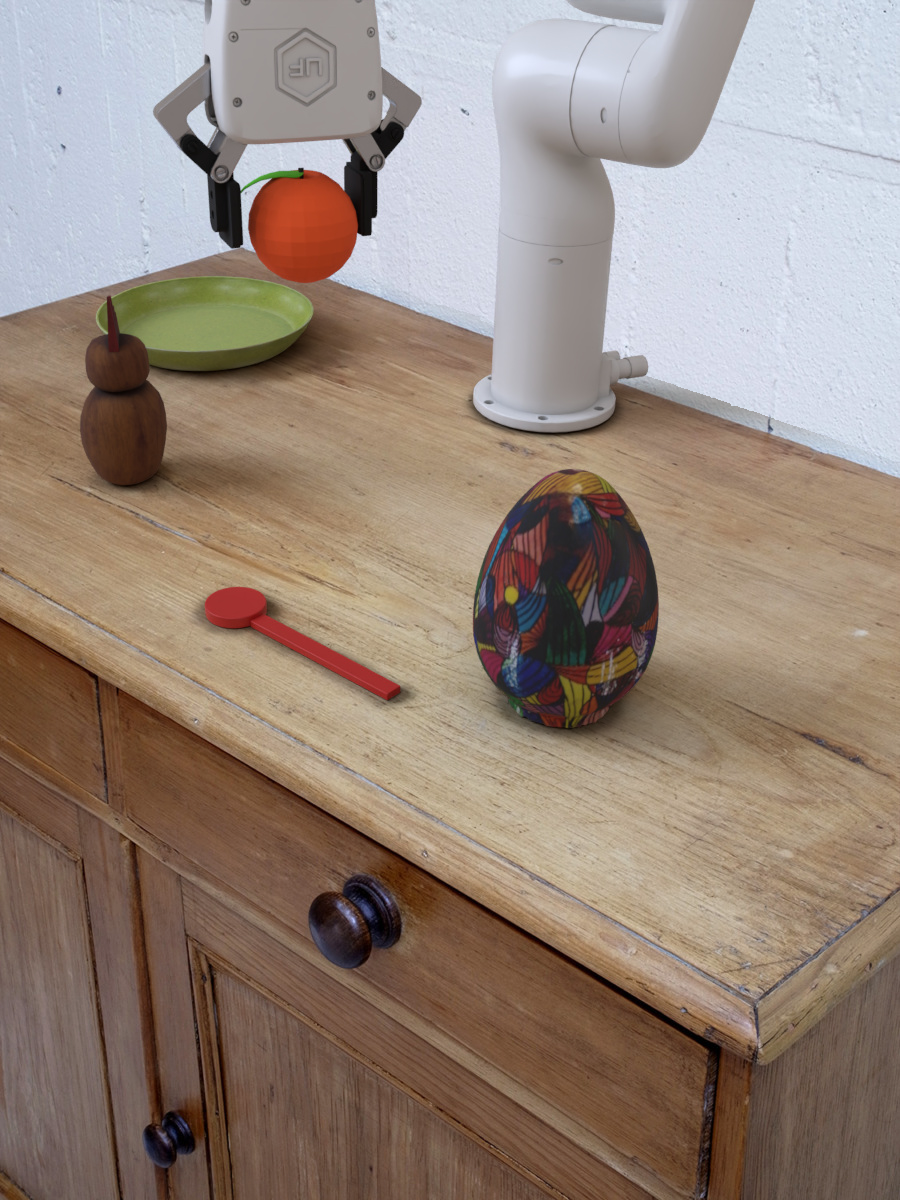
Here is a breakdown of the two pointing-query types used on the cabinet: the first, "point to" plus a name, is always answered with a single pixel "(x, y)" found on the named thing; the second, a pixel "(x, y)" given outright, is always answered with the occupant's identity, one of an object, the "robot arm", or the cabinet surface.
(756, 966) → the cabinet surface
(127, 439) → the wooden figurine
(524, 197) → the robot arm
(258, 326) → the saucer
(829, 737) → the cabinet surface
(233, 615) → the spoon
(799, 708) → the cabinet surface
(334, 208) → the clementine
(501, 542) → the egg
